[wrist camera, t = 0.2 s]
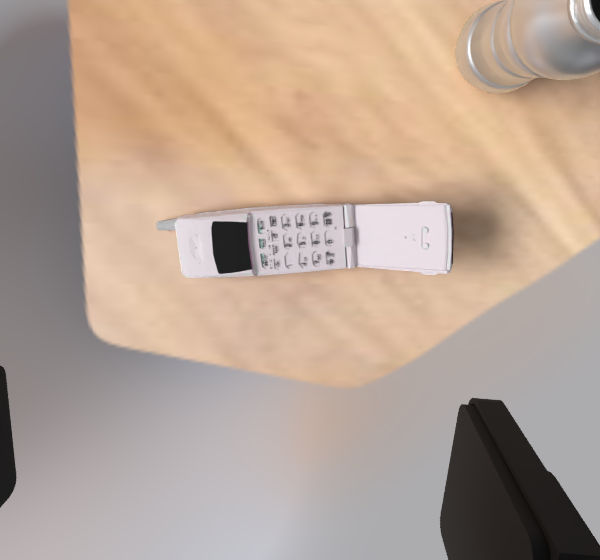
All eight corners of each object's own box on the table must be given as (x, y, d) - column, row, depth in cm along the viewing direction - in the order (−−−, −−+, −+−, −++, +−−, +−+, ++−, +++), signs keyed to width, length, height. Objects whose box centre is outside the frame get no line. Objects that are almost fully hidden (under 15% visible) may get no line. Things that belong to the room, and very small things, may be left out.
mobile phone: (454, 275, 42) (147, 294, 43) (438, 258, 47) (168, 276, 49) (454, 199, 40) (136, 222, 42) (438, 191, 46) (158, 212, 47)
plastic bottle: (471, -5, 41) (598, -122, 22) (548, 28, 41) (741, -57, 22) (435, 77, 43) (524, 36, 24) (510, 108, 43) (657, 93, 24)
